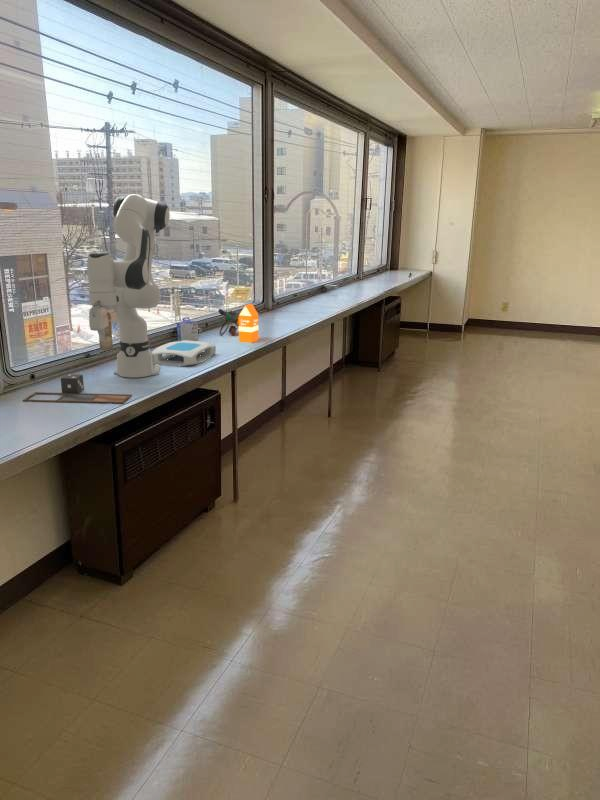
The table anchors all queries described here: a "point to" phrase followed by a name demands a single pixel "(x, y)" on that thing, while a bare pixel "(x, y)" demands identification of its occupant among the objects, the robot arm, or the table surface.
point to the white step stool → (184, 352)
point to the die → (72, 383)
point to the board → (84, 398)
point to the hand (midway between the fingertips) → (105, 338)
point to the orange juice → (248, 324)
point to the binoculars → (231, 319)
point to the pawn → (107, 336)
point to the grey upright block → (187, 330)
